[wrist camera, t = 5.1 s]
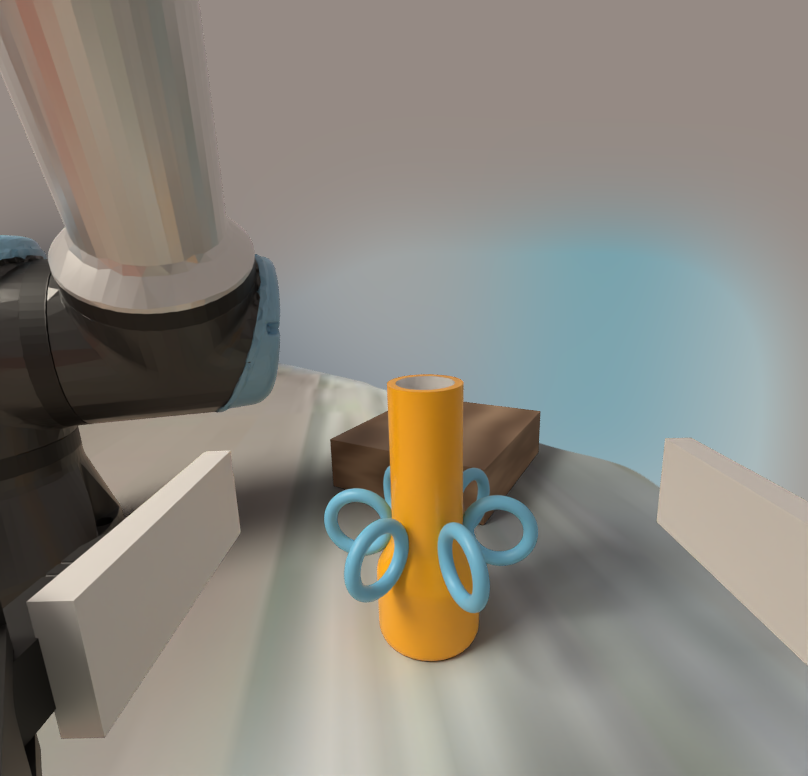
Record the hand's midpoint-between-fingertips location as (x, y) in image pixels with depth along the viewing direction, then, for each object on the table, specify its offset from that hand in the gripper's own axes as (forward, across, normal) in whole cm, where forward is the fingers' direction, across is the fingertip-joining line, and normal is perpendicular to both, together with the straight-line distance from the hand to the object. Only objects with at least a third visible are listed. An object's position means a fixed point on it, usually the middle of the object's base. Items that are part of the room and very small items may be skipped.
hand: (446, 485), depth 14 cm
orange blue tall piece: (+11, 0, -14) cm, 18 cm away
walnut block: (+33, +2, -14) cm, 36 cm away
